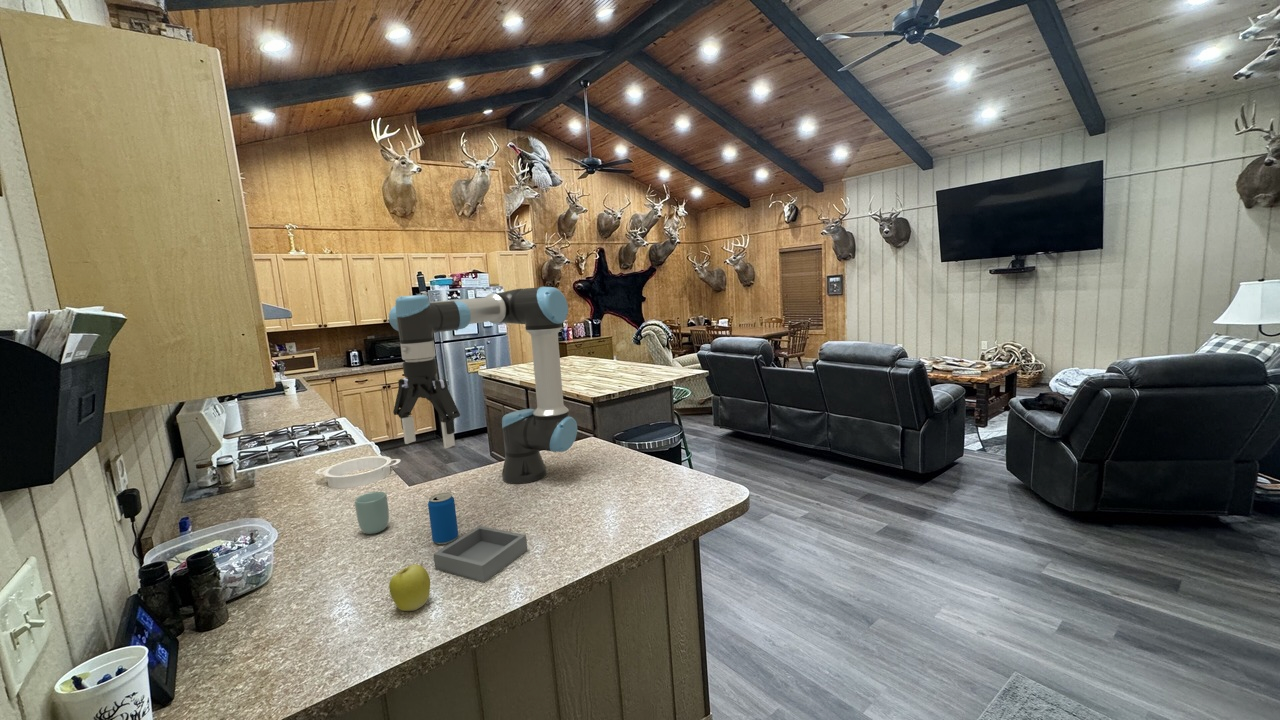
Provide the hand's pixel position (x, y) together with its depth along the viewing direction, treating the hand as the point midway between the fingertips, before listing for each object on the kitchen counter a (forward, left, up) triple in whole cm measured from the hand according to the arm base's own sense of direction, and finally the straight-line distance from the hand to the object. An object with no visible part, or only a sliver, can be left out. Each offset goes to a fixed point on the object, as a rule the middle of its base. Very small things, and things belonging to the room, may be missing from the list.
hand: (429, 444), depth 129 cm
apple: (+20, +13, -28) cm, 37 cm away
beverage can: (-4, -3, -28) cm, 28 cm away
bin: (0, +14, -28) cm, 31 cm away
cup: (-1, -27, -28) cm, 39 cm away
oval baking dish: (-29, -73, -28) cm, 84 cm away
